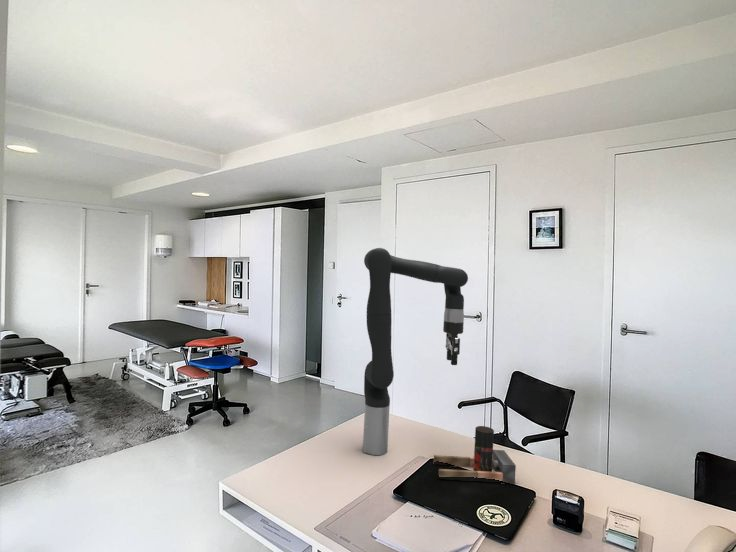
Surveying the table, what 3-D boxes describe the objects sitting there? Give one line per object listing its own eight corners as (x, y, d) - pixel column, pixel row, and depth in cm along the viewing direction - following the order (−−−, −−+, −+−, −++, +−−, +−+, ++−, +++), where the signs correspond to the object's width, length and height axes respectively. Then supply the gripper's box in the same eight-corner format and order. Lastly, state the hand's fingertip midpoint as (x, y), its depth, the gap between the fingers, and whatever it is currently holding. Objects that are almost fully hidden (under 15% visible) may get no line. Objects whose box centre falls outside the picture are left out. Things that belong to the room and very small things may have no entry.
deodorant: (493, 478, 130) (496, 433, 130) (475, 477, 131) (478, 432, 131) (488, 469, 136) (490, 426, 136) (471, 468, 136) (473, 425, 136)
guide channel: (438, 479, 128) (439, 461, 128) (433, 463, 139) (434, 446, 139) (514, 484, 128) (515, 465, 128) (503, 467, 139) (504, 450, 139)
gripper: (440, 318, 160) (438, 358, 160) (447, 322, 145) (445, 366, 145) (459, 319, 160) (457, 359, 160) (467, 323, 145) (465, 367, 145)
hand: (451, 362), depth 153 cm, fingers open, 8 cm apart
